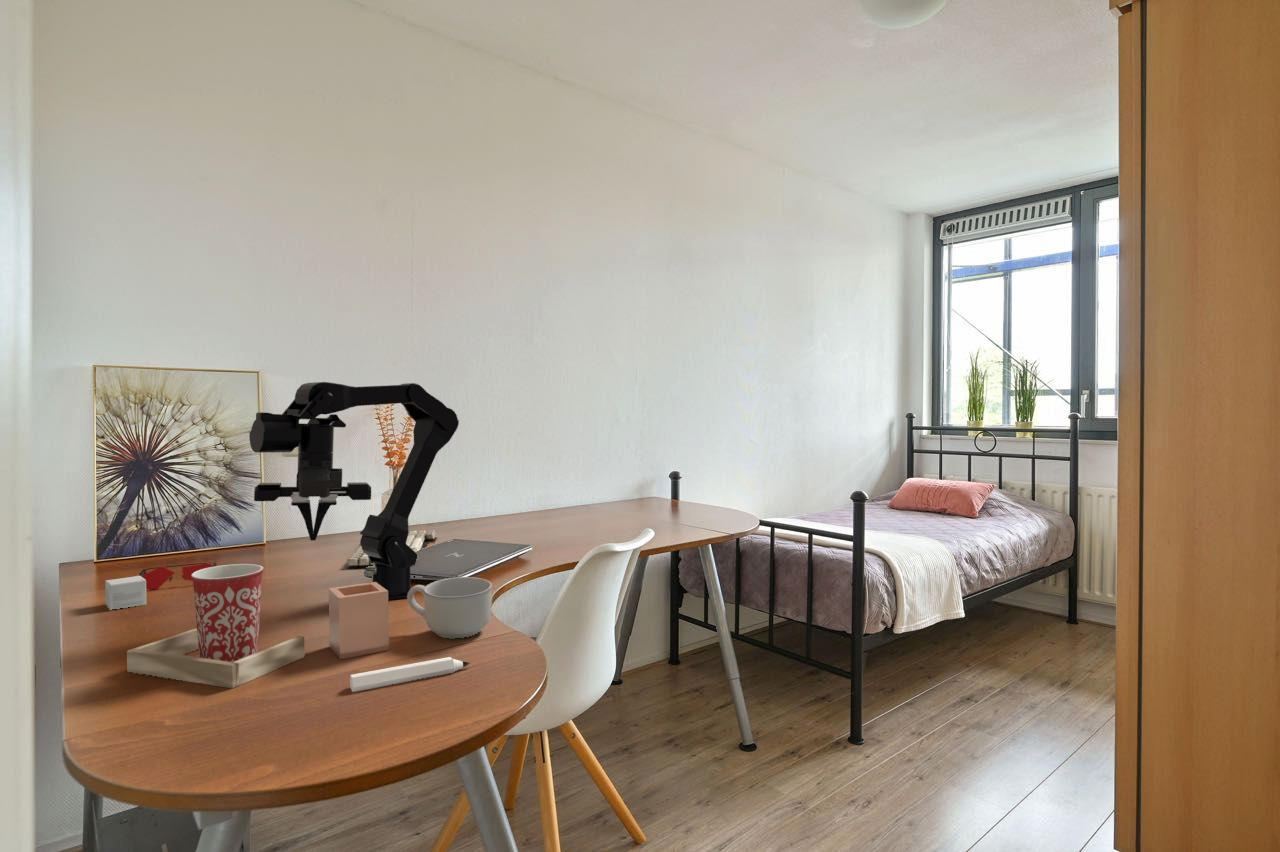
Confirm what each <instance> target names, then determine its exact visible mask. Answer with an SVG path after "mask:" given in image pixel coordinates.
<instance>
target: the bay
mask: <svg viewBox="0 0 1280 852" xmlns="http://www.w3.org/2000/svg"><path fill="white" fill-rule="evenodd" d="M197 649H198V650H199V647H198V635H197V627H195V628H193V629H189V630H187V631H184V632H181V633H177V634H174V635H171V636H169V637H165V638H162V639H159V640H156V641H154V642H150V643H148V644H147V643H146V644H144V645H141V646H137V647H135V648H131V649H128V650H126V665H127V666H126V669H127V670H126V671H128V672H127V673H129V672H133V673H132V674H136V673H138V674H137V675H142V674H146V675H145V676H149V675H152V676H151V677H155V676H157V677H156V678H162V677H163V678H164V679H168V678H170V680H175V679H176V680H177V681H181V680H182V682H190V683H195V684H201V683H202V685H210V686H216V687H222V688H229V689H234V688H237V687H239V686H241V685H244V684H246V683H248V682H250V681H253V680H255V679H258V678H260V677H261V676H264V675H267V674H269V673H271V672H274V671H275V670H277V669H280V668H282V667H284V666H287V665H289V664H291V663H294V662H296V661H298V660H300V659H303V658H305V655H306V653H305V636H300V635H298V636H295V637H293V638H290V639H288V640H285V641H283V642H280V643H278V644H275V645H273V646H270V647H268V648H266V649H262V650H260V651H258V652H257V653H255V654H252V655H250V656H247V657H245V658H242V659H240V660H237V661H235V662H227V661H220V660H213V659H205V658H199V656H198V657H197V656H192V655H186V653H187V654H190V653H192V651H193V652H195V651H198V650H197ZM189 652H190V653H189ZM183 654H184V655H183ZM176 680H175V681H176Z"/></svg>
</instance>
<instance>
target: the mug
mask: <svg viewBox="0 0 1280 852" xmlns="http://www.w3.org/2000/svg"><path fill="white" fill-rule="evenodd" d="M264 570H265V568H264V566H262V565H259V564H252V563H237V564H236V563H235V564H234V563H232V564H224V565H217V566H215V567H209V568H205V569H201V570H198V571H196V572H194V573H192V575H191V577H192V580H193V581H192V585H193V596H194V597H193V598H194V606H195V607H194V608H195V619H196V620H195V621H196V628H197V635H198V647H199V649H198V658H205V659H213V660H220V661H227V662H235V661H237V660H240V659H242V658H245V657H247V656H250V655H252V654H255V653H257V652H259V636H260V635H259V634H260V618H261V616H260V615H261V599H262V579H263V572H264Z"/></svg>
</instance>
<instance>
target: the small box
mask: <svg viewBox="0 0 1280 852" xmlns="http://www.w3.org/2000/svg"><path fill="white" fill-rule="evenodd" d="M104 581H105V582H104V587H105V596H104V597H105V606H106V605H107V606H106V607H107V609H108V610H109V611H111V610H112V609H117V610H121V609H120V608H123V609H129V608H128V607H130V608H135V606H136V607H142V606H147V589H146V580H145V579H144V578H142V577H141V576H139V575H135V576H130V577H129V576H128V577H123V578H122V577H121V578H115V579H113V578H112V579H106V580H104ZM112 611H113V610H112Z"/></svg>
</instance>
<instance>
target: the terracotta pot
mask: <svg viewBox="0 0 1280 852" xmlns="http://www.w3.org/2000/svg"><path fill="white" fill-rule="evenodd" d="M389 613H390V612H389V599H388V591H387V590H386V589H385V588H383V587H382V586H381V585H379V584H378V583H377V582H372V581H371V582H366V583H357V584H351V585H343V586H337V587H329V588H328V615H329V616H328V617H329V619H328V622H329V648H330V649H331V650H332V651H333V653H334V654H335V655H336V656H337V657H338V659H339V660H346V659H350V658H355V657H360V656H365V655H369V654H375V653H376V654H377V653H382V652H386V651H389V650H390V631H389V630H390V626H389V624H390V623H389V618H390V615H389Z"/></svg>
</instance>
